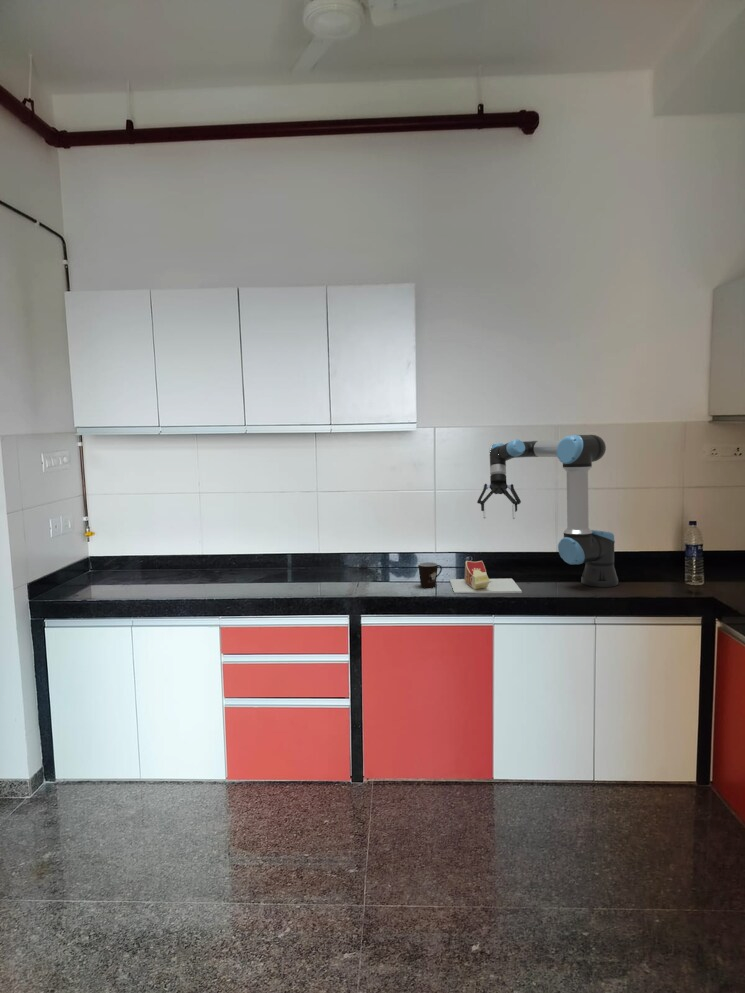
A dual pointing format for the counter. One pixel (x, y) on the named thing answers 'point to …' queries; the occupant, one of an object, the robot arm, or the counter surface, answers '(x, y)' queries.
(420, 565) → the coffee mug
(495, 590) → the mat
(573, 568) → the counter surface
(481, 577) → the milk carton
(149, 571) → the counter surface
